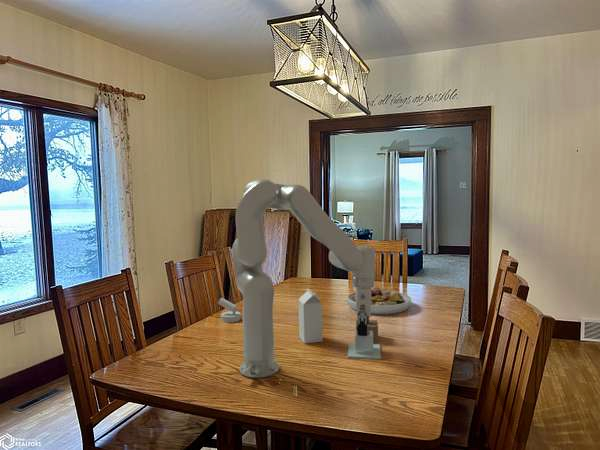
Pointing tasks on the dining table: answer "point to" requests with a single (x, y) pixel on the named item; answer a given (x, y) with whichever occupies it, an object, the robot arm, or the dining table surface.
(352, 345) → the mat
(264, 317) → the robot arm
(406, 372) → the dining table surface
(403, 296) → the bowl
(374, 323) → the post
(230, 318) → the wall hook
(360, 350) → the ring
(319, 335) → the milk carton
